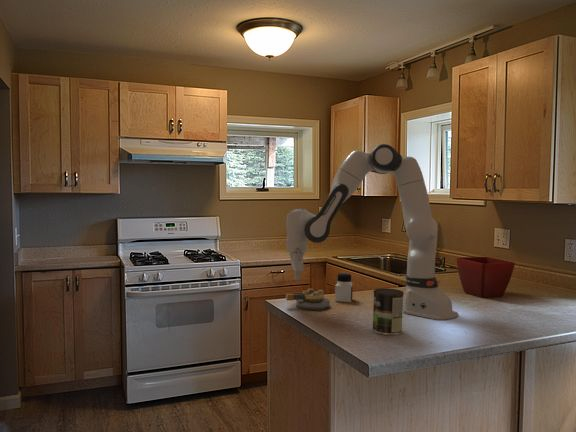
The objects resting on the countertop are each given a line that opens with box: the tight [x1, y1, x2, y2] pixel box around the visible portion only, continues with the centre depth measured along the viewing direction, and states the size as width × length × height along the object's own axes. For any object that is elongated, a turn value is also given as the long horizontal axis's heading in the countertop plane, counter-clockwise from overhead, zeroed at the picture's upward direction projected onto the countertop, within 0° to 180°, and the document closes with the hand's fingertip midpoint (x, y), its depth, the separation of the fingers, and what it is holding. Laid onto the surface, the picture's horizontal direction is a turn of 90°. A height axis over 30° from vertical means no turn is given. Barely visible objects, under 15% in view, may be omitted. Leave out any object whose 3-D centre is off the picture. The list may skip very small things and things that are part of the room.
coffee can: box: [372, 288, 404, 336], centre depth 174 cm, size 10×10×14 cm
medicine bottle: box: [334, 272, 354, 303], centre depth 220 cm, size 7×7×12 cm
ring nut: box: [285, 288, 325, 302], centre depth 207 cm, size 16×9×4 cm, turn 107°
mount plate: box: [295, 297, 331, 311], centre depth 208 cm, size 14×14×3 cm
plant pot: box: [456, 256, 516, 299], centre depth 238 cm, size 19×19×17 cm
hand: (297, 279), depth 211 cm, fingers closed
